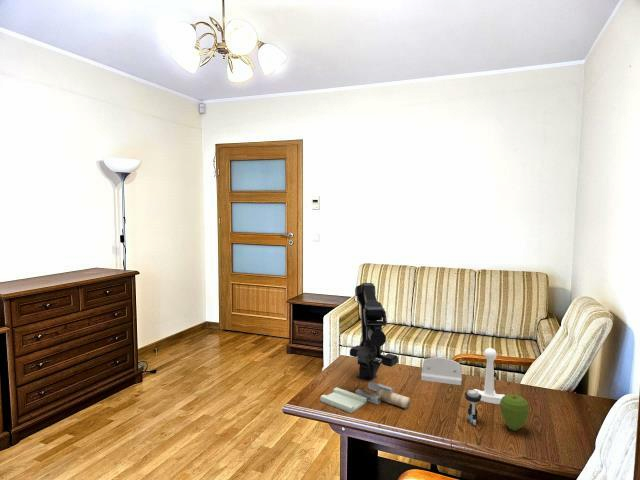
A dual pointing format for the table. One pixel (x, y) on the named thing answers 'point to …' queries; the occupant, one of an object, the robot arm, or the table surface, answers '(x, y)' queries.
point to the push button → (473, 404)
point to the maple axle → (393, 398)
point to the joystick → (490, 379)
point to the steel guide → (370, 396)
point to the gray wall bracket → (441, 371)
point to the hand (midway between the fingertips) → (373, 377)
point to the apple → (514, 411)
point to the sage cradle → (344, 400)
